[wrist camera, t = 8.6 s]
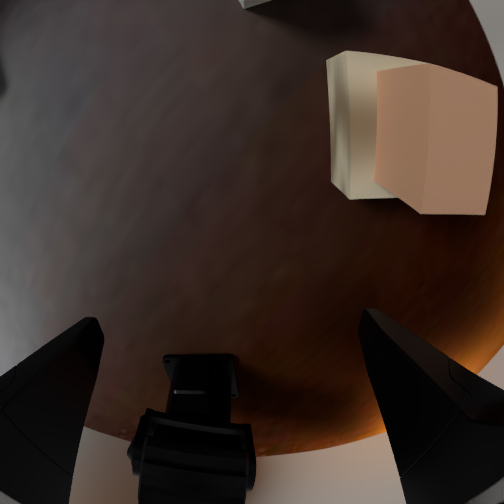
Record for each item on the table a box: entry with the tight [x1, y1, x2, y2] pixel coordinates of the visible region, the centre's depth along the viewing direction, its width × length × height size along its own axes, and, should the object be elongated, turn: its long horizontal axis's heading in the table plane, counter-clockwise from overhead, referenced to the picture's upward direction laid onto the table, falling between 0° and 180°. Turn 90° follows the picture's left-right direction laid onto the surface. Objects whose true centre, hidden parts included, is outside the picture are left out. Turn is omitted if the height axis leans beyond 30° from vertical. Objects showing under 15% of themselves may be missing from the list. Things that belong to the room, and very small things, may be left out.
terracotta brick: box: [374, 63, 497, 215], centre depth 11 cm, size 6×4×5 cm, turn 2°
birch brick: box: [326, 51, 441, 199], centre depth 15 cm, size 8×6×4 cm
